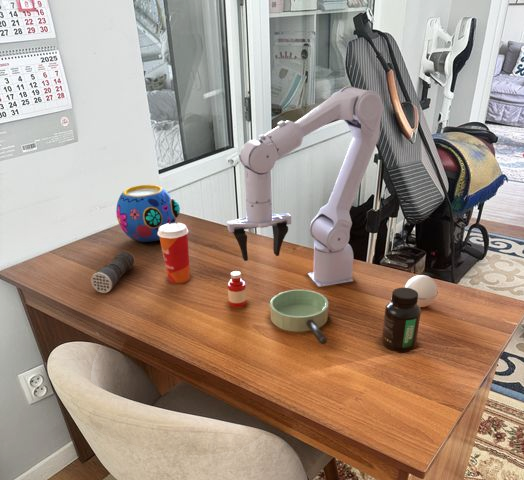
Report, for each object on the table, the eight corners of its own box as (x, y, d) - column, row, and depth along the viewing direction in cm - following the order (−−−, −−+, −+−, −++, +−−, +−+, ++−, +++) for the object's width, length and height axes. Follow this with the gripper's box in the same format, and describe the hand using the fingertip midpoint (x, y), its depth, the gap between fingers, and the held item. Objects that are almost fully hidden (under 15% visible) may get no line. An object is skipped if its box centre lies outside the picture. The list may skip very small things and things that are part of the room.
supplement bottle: (414, 356, 103) (423, 303, 96) (379, 351, 104) (385, 299, 98) (416, 338, 108) (424, 286, 101) (382, 334, 110) (388, 283, 103)
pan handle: (305, 325, 110) (305, 319, 110) (312, 324, 111) (312, 317, 110) (320, 346, 104) (320, 339, 103) (328, 345, 104) (328, 338, 103)
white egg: (395, 305, 120) (399, 276, 116) (414, 294, 124) (418, 266, 120) (433, 321, 114) (438, 291, 110) (451, 309, 118) (457, 280, 114)
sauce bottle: (244, 299, 125) (242, 268, 120) (248, 307, 122) (246, 275, 117) (227, 302, 124) (224, 270, 120) (231, 310, 121) (228, 278, 116)
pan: (315, 300, 123) (315, 285, 121) (336, 327, 113) (337, 311, 111) (263, 310, 120) (263, 294, 118) (281, 337, 110) (280, 321, 108)
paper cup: (165, 273, 139) (158, 222, 131) (194, 271, 139) (188, 220, 131) (163, 286, 132) (155, 234, 124) (193, 284, 133) (187, 232, 125)
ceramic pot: (152, 254, 150) (144, 203, 141) (109, 243, 158) (99, 194, 149) (191, 234, 161) (185, 186, 153) (149, 225, 170) (142, 178, 161)
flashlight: (119, 266, 143) (115, 248, 140) (137, 267, 142) (134, 249, 139) (93, 292, 131) (88, 272, 128) (113, 293, 130) (108, 274, 127)
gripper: (230, 209, 109) (235, 268, 116) (295, 200, 112) (295, 258, 120) (223, 199, 115) (227, 256, 122) (285, 191, 118) (286, 247, 125)
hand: (260, 256), depth 121 cm, fingers open, 7 cm apart
